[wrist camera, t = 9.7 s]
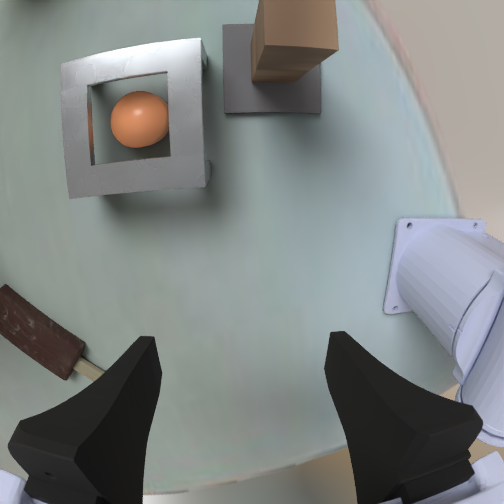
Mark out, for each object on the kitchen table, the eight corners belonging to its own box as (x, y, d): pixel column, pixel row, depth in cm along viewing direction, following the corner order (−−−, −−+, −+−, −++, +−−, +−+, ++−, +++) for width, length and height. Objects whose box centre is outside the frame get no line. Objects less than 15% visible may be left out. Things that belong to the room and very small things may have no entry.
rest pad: (316, 28, 16) (318, 27, 16) (319, 113, 19) (321, 113, 18) (222, 26, 16) (222, 24, 16) (224, 113, 18) (224, 113, 18)
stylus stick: (292, 44, 17) (334, -10, 8) (293, 82, 18) (338, 49, 9) (250, 44, 16) (262, -16, 8) (251, 82, 17) (264, 45, 9)
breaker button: (171, 91, 18) (164, 87, 16) (173, 143, 19) (166, 144, 17) (120, 98, 18) (109, 95, 16) (123, 148, 19) (112, 150, 17)
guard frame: (207, 54, 17) (200, 37, 13) (210, 176, 20) (205, 187, 16) (89, 72, 17) (61, 63, 13) (96, 185, 20) (69, 198, 16)
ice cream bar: (132, 368, 26) (1, 276, 22) (128, 380, 24) (-8, 284, 20) (113, 395, 27) (-6, 314, 23) (109, 407, 26) (-15, 322, 22)
